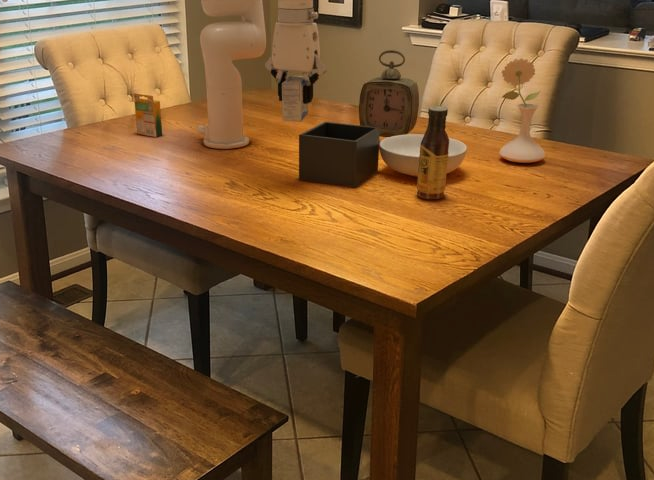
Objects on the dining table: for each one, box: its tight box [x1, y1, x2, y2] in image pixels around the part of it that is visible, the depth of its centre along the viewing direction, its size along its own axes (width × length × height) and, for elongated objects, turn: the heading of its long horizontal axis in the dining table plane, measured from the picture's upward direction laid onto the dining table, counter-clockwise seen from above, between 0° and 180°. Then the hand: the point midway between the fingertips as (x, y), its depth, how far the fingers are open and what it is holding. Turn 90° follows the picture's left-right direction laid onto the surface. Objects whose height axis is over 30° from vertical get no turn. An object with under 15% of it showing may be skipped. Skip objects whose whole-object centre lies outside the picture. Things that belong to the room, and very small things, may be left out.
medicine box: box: [281, 75, 309, 123], centre depth 183 cm, size 8×4×9 cm, turn 167°
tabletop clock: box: [358, 49, 420, 138], centre depth 216 cm, size 14×9×25 cm, turn 68°
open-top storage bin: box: [298, 121, 381, 189], centre depth 195 cm, size 15×15×11 cm
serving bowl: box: [379, 133, 468, 178], centre depth 197 cm, size 21×21×7 cm
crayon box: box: [133, 93, 163, 138], centre depth 231 cm, size 7×3×12 cm, turn 57°
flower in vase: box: [498, 58, 546, 164], centre depth 202 cm, size 13×11×25 cm
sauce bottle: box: [416, 105, 450, 201], centre depth 178 cm, size 7×6×20 cm
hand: (295, 100), depth 184 cm, fingers closed on medicine box, 5 cm apart
